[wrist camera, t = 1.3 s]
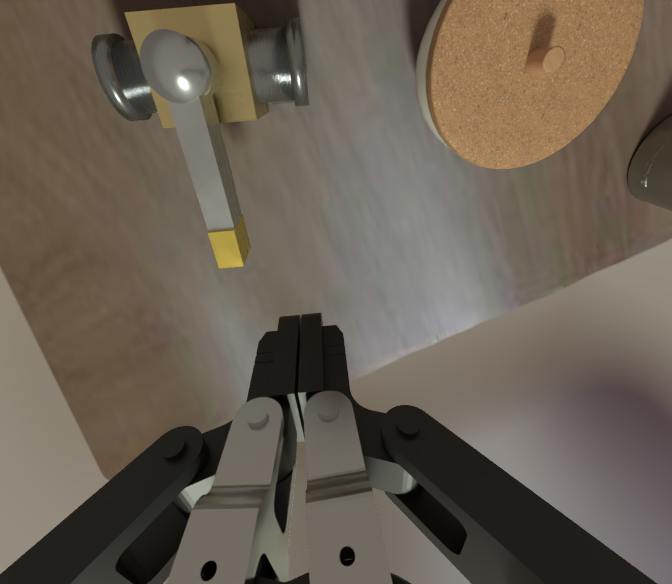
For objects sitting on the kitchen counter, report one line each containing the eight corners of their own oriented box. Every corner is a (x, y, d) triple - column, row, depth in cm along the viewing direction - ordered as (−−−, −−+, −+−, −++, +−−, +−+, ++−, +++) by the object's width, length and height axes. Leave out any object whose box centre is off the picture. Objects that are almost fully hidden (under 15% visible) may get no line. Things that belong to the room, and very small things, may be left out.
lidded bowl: (511, -90, 22) (654, -214, 13) (568, 77, 28) (695, 75, 18) (367, 56, 26) (397, 42, 17) (443, 176, 32) (496, 214, 22)
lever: (156, 39, 18) (129, 31, 16) (211, 34, 18) (193, 26, 16) (220, 249, 26) (209, 269, 23) (259, 246, 26) (253, 265, 23)
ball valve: (300, 18, 24) (296, -4, 18) (309, 108, 28) (309, 115, 21) (123, 33, 24) (58, 16, 18) (154, 122, 28) (108, 133, 21)
